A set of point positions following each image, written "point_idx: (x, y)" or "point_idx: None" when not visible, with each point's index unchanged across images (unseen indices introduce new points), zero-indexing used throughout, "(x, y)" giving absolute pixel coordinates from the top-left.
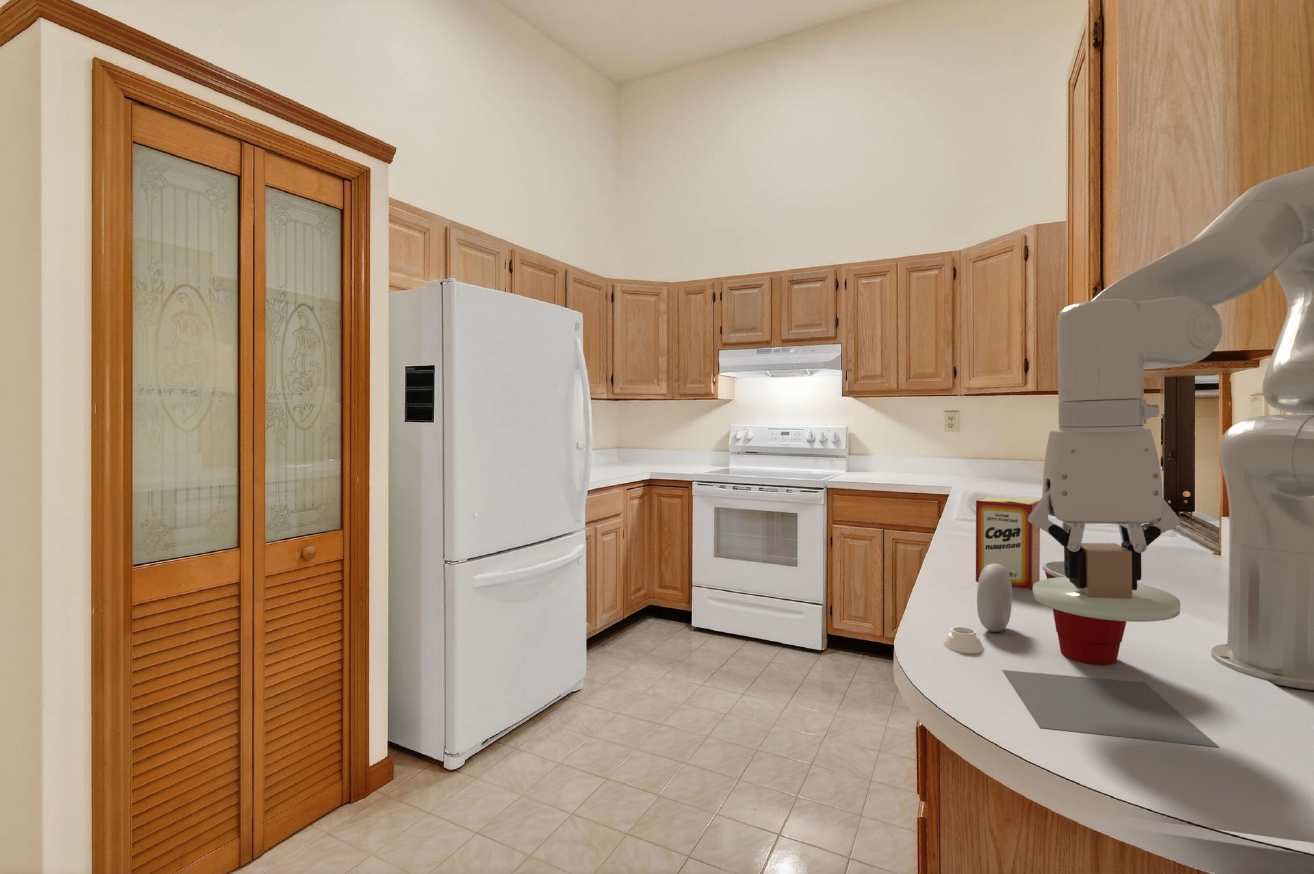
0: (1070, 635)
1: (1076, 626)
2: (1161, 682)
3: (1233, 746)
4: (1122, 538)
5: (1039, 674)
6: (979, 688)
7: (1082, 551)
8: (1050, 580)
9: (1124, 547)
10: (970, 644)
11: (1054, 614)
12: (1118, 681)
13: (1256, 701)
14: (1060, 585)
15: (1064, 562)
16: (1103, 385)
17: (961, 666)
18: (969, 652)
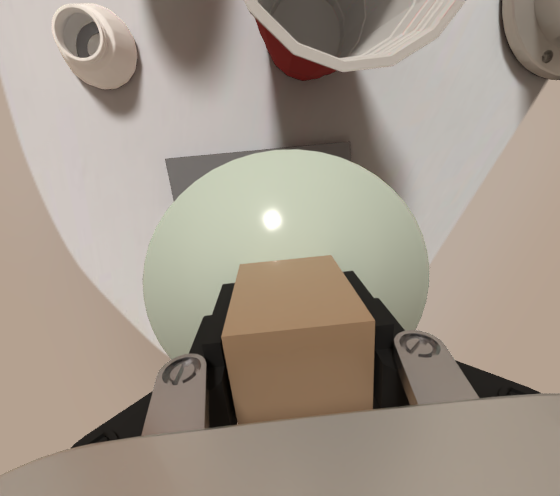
0: (273, 56)
1: (283, 60)
2: (378, 110)
3: None
4: (399, 370)
5: (215, 159)
6: (138, 221)
7: (232, 417)
8: (189, 210)
9: (377, 379)
10: (105, 75)
11: None
12: (316, 150)
13: (463, 144)
14: (208, 257)
15: (197, 334)
16: None
17: (108, 141)
18: (111, 86)
